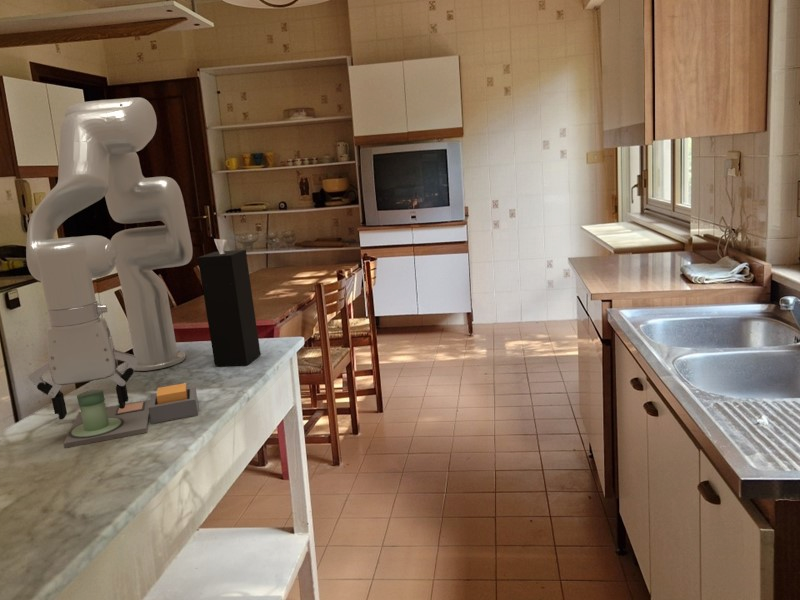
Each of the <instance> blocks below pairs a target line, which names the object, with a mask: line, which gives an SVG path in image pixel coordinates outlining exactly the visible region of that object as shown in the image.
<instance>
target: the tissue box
mask: <svg viewBox="0 0 800 600" xmlns="http://www.w3.org/2000/svg"><path fill="white" fill-rule="evenodd" d="M213 240H214V243H215V246H216V249H217V251H213V252H210V253H207V254H204V255H201V256H198V257H197V264H198V267H199V274H200V281H201V285H202V292H203V293H202V294H203V299H204V306H205V311H206V312H205V313H206V318H207V324H208V331H209V336H210V337H209V338H210V344H211V349H212V356H213V362H214V366H215V367H225V366H227V367H230V366H231V367H232V366H247V365H248V366H249V365H250V364H251V363H252V362H254V361H255V360H256V359H258V358H259V357H260V356H261V348H260V342H259V333H258V326H257V320H256V319H257V318H256V311H255V306H254V300H253V293H252V292H253V291H252V285H251V278H250V273H249V272H250V270H249V264H248V259H247V258H248V255H247V249H238V250H236V249H235V250H226V247H227V243H228V239H223V238H218V239H217V238H214V239H213Z"/></svg>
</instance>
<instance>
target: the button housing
mask: <svg viewBox="0 0 800 600" xmlns="http://www.w3.org/2000/svg"><path fill="white" fill-rule="evenodd" d="M187 393H188V399H185V400H180V401H174V402H169V403H163V404H158V402H157V397H156V396H157V392H156V393H151V394H150V397H149V400H150V402H149V407H148V409H149V414H150V418H149V421H150V423H151V425H152V424H157V423H158V424H159V423H163V422H169V420H170V421H175V420H180V419H186V418H190V416H191V417H196V416H199V399H198V393H197V389H196V386H192V387H187ZM185 417H186V418H185ZM179 418H180V419H179ZM174 419H175V420H174Z"/></svg>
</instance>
